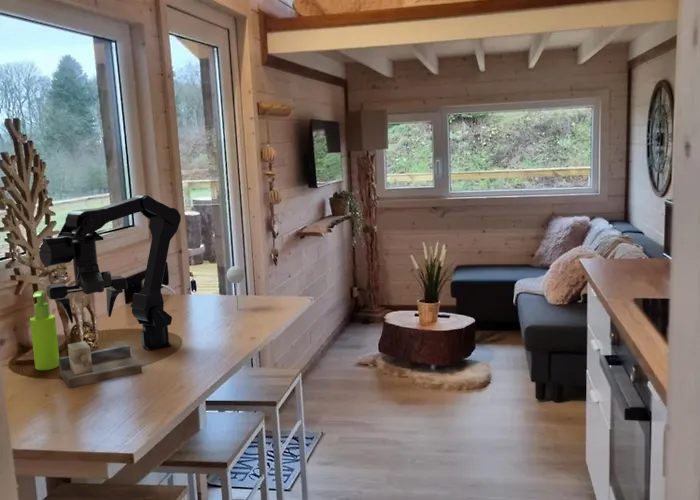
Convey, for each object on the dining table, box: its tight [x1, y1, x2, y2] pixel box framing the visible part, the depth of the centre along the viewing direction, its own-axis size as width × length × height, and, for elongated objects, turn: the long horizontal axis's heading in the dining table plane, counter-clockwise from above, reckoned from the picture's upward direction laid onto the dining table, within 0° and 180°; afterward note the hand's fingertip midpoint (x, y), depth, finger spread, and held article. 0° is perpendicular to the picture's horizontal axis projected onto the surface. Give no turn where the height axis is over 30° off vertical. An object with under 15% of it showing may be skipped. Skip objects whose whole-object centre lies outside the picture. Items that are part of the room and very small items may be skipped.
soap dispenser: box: [29, 289, 60, 371], centre depth 171 cm, size 6×7×20 cm
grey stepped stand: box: [59, 344, 143, 389], centre depth 166 cm, size 17×11×5 cm, turn 124°
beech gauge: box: [67, 341, 93, 374], centre depth 162 cm, size 4×9×6 cm, turn 33°
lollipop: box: [226, 265, 245, 311], centre depth 225 cm, size 6×6×15 cm
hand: (90, 319), depth 171 cm, fingers open, 9 cm apart
